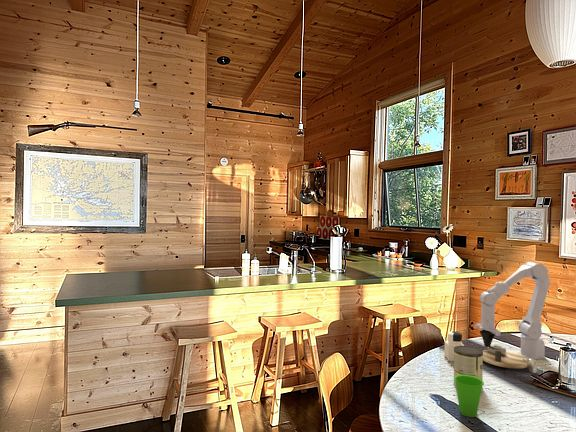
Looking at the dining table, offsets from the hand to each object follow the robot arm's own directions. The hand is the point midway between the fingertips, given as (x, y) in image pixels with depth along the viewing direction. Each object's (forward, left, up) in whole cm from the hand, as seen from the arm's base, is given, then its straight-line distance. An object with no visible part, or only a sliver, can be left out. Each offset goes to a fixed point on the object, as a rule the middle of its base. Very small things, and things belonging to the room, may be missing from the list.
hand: (487, 346), depth 193 cm
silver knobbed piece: (-4, +20, -4) cm, 21 cm away
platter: (0, +11, -3) cm, 11 cm away
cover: (0, +6, -1) cm, 7 cm away
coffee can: (+33, +30, -4) cm, 45 cm away
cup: (+47, +49, -4) cm, 68 cm away
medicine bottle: (+19, +2, -4) cm, 20 cm away
